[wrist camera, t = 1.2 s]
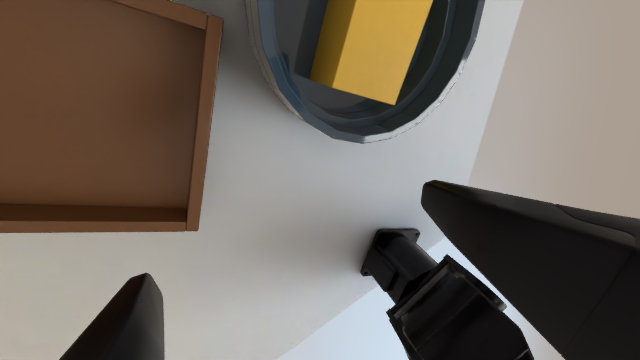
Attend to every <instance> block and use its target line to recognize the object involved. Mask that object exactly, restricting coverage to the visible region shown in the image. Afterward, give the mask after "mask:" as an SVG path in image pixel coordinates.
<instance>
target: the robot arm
mask: <svg viewBox="0 0 640 360" xmlns="http://www.w3.org/2000/svg"><path fill="white" fill-rule="evenodd" d="M421 205H422V207H423V209H424V210H425V211H426V212H427V214H428V215H429V216H430V217H431V219H432V220H433V221H434V222H435V224H436V225H437V226H438V227H439V228H440V230H441V231H442V232H443V233H444V235H445V236H446V237H447V238H448V239H449V240H450V241H451V243H453V245H454V246H455V247H456V248H457V249H458V250H459V251H460V252H461V253H462V254H463V255H464V256H465V257H466V258H467V259H468V260H469V261H470V262H471V263H472V264H473V265H474V266H475V267H476V268H477V269H478V270H479V271H480V272H481V273H482V274H483V275H484V276H485V278H486V279H487V280H488V281H489V282H490V283H491V284H492V285H493V286H494V287H495V288H496V289H497V290H498V291H499V292H500V293H501V294H502V295H503V296H504V297H505V298H506V299H507V300H508V301H509V302H510V303H511V304H512V305H513V306H514V307H515V308H516V309H517V310H518V311H519V312H520V313H521V314H522V315H523V317H525V319H526V320H527V321H528V322H529V323H530V324H531V325H532V326H533V327H534V328H535V329H536V330H537V331H538V332H539V333H540V334H541V335H542V336H543V337H544V338H545V339H546V340H547V341H548V342H549V343H550V344H551V345H552V346H553V347H554V348H555V349H556V350H557V351H558V352H559V353H560V354H561V356H562V357H563V358H564V359H565V360H640V219H637V218H631V217H624V216H618V215H613V214H607V213H601V212H595V211H590V210H584V209H579V208H574V207H569V206H563V205H559V204H553V203H548V202H543V201H538V200H533V199H528V198H523V197H518V196H513V195H508V194H502V193H498V192H493V191H488V190H483V189H478V188H473V187H468V186H463V185H458V184H453V183H448V182H443V181H438V180H432V181H429V182H426V183H425V184H424V185H423V189H422V197H421ZM419 235H420V232H419V231H418V230H417V229H395V230H379V231H378V232H377V233H376V235H375V238H374V240H373V242H372V245H371V247H370V250H369V252H368V254H367V257H366V259H365V262H364V264H363V266H362V269H361V271H360V273H361V274H362V276H373V277H374V279H375V280H376V281H377V283H378V284H379V285H380V287H381V288H382V289H383V291H384V292H387V293H388V295H389V296H390V297H391V298H392V300H393V301H394V303H395V305H394V306H393V307H392V308H391V309H389V310H388V311H387V312H386V313H387V315H388V317H389V318H390V320H389V321H390V323H391V324H392V326H393V328H394V330H395V331H396V333H397V335H398V337H399V339H400V340H401V342H402V344H403V346H404V349H405V351H406V354H407V356H408V358H409V360H534V357H533V355H532V353H531V351H530V348H529V346H528V344H527V342H526V339H525V337H524V335H523V333H522V331H521V329H520V328H519V327H518V326H517V325H516V324H515V323H514V322H513V321H512V320H511V319H510V318H509V317H508V316H507V315H505V314H504V313H503V312H502V311H503V310H504V309H506V308H507V306H506V304H504V302H503V301H502V300H501V299H500V298H499V297H498V296H497V295H496V294H495V293H494V292H493V291H492V290H490V289H489V288H488V287H487V286H486V285H485V284H484V283H482V282H481V281H480V280H479V279H478V278H476V277H475V276H474V275H473V274H472V273H470V272H469V271H468V270H466V269H465V268H464V267H463V266H461V265H460V264H459V263H458V262H456V261H455V260H454V259H453V258H451V257H450V256H449V255H446V256H445V257H444V259H443V260H442V261H441V262H440V263H439V264H438V263H437V262H436V261H435V260H434V259H432V258H431V257H430V256H429V255H428V254H427V253H426V252H425V251H424V250H423V249H422V248H421V247H420V246H419V245H417V244H416V241H417V239H418V237H419ZM59 360H164V313H163V296H162V293H161V291H160V289H159V288H158V286H157V284H156V283H155V281H154V279H153V278H152V276H151V275H150V274H149V273H144V274H141V275H138V276H135V277H132V278H130V279H129V280H128V281H127V282H126V283H125V284H124V286H123V287H122V288H121V289H120V290H119V291H118V292H117V294H116V295H115V296H114V297H113V298H112V299H111V301H110V302H109V303H108V304H107V305H106V306H105V307H104V309H103V310H102V311H101V312H100V313H99V314H98V315H97V317H96V318H95V319H94V320H93V321H92V322H91V324H90V325H89V326H88V327H87V328H86V329H85V330H84V332H83V333H82V334H81V335H80V336H79V337H78V338H77V340H76V341H75V342H74V343H73V344H72V345H71V347H70V348H69V349H68V350H67V351H66V352H65V353H64V355H63V356H62V357H61V358H60V359H59Z"/></svg>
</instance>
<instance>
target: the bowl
mask: <svg viewBox="0 0 640 360" xmlns="http://www.w3.org/2000/svg"><path fill="white" fill-rule="evenodd" d="M484 3H485V0H433V2H432V5H431V8H430V10H429V13H428V16H427V18H426V21H425V24H424V27H423V29H422V32H421V35H420V37H419V40H418V43H417V46H416V48H415V51H414V54H413V56H412V59H411V62H410V65H409V67H408V70H407V73H406V75H405V78H404V81H403V84H402V86H401V89H400V92H399V94H398V97H397V100H396V103H395V105H392V104H388V103H384V102H381V101H377V100H374V99H370V98H367V97H363V96H359V95H356V94H352V93H349V92H345V91H341V90H338V89H334V88H331V87H328V86H326V85H323V84H320V83H317V82H315V81H312V80H310V79H309V78H310V74H311V69H312V65H313V61H314V57H315V53H316V49H317V45H318V41H319V37H320V32H321V28H322V24H323V20H324V16H325V12H326V8H327V4H328V0H245V7H246V14H247V22H248V30H249V37H250V44H251V48H252V50H253V52H254V55H255V57H256V59H257V62H258V64H259V66H260V69H261V71H262V73H263V76H264V78H265V80H266V82H267V84H268V85H269V86H270V88H271V89H272V90H273V91H274V92H275V93H276V95H277V96H278V97H279V98H280V99H281V101H282V102H283V103H284V104H285V105H286V107H287V108H288V109H289V110H291V111H292V112H293V113H295V114H296V115H297V116H298V117H300V118H301V119H302V120H304V121H305V122H306V123H308V124H310V125H311V126H313V127H315V128H316V129H318V130H320V131H321V132H323V133H325V134H326V135H328V136H330V137H331V138H334V139H338V140H344V141H350V142H355V143H361V144H362V143H369V142H375V141H380V140H386V139H390V138H393V137H395V136H397V135H399V134H401V133H402V132H404V131H406V130H408V129H410V128H412V127H414V126H416V125H417V124H418V123H420V122H421V121H422V120H423V119H424V118H425V117H426V116H427V115H428V114H429V113H430V112H432V111H433V110H434V109H435V108H436V107H437V106H438V105H439V104H440V103H441V102H442V100H443V99H444V98H445V96H446V95H447V93H448V92H449V90H450V89H451V87H452V86H453V85H454V83H455V82H456V80H457V79H458V77H459V76H460V74H461V72H462V70H463V68H464V66H465V63H466V61H467V59H468V56H469V54H470V52H471V50H472V47H473V45H474V43H475V41H476V37H477V33H478V29H479V25H480V20H481V16H482V12H483V7H484Z"/></svg>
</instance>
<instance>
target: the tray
mask: <svg viewBox="0 0 640 360" xmlns="http://www.w3.org/2000/svg"><path fill="white" fill-rule="evenodd" d="M223 22H224V21H223V19H222V18H219V17H216V16H214V15H211V14H208V15H207V13H205V12H202V11H199V10H196V9H193V8H190V7H187V6H184V5H182V4H179V3H176V2H173V1H170V0H0V233H51V232H177V231H198V228H199V219H200V211H201V203H202V195H203V186H204V178H205V170H206V162H207V154H208V145H209V137H210V129H211V121H212V112H213V104H214V96H215V88H216V79H217V71H218V63H219V55H220V46H221V38H222V30H223Z"/></svg>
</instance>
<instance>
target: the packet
mask: <svg viewBox="0 0 640 360" xmlns="http://www.w3.org/2000/svg"><path fill="white" fill-rule="evenodd" d="M432 2H433V0H328V4H327V8H326V12H325V16H324V20H323V24H322V28H321V32H320V37H319V41H318V45H317V49H316V53H315V57H314V61H313V65H312V69H311V74H310V78H309V79H310V80H312V81H315V82H317V83H320V84H323V85H326V86H328V87H331V88H334V89H338V90H341V91H345V92H349V93H352V94H356V95H359V96H363V97H367V98H370V99H374V100H377V101H381V102H384V103H388V104H392V105H395V103H396V100H397V97H398V94H399V92H400V89H401V86H402V84H403V81H404V78H405V75H406V73H407V70H408V67H409V65H410V62H411V59H412V56H413V54H414V51H415V48H416V46H417V43H418V40H419V37H420V35H421V32H422V29H423V27H424V24H425V21H426V18H427V16H428V13H429V10H430V8H431V5H432Z"/></svg>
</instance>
